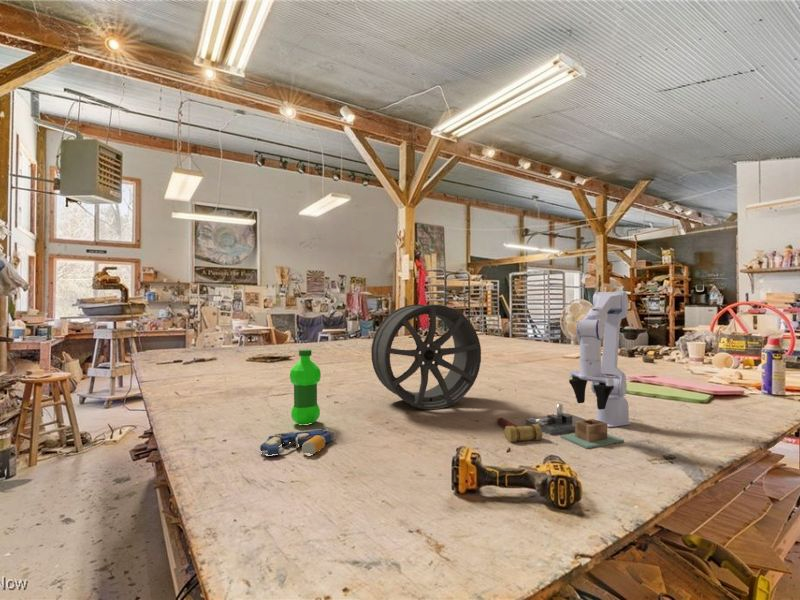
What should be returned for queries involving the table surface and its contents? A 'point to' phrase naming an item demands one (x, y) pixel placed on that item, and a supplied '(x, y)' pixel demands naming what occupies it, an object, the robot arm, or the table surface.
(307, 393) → the plastic bottle
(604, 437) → the sleeve block
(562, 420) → the vise
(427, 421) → the table surface
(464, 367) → the car wheel rim
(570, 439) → the mat
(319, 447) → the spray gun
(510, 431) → the gavel
